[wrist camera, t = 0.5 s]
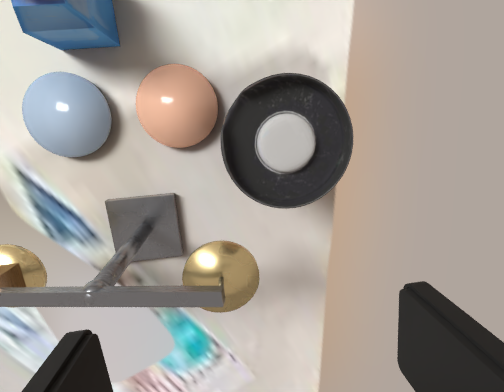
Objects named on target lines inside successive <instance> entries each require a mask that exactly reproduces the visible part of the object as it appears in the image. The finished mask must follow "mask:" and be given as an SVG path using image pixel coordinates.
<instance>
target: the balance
mask: <svg viewBox="0 0 504 392" xmlns="http://www.w3.org/2000/svg"><path fill="white" fill-rule="evenodd" d="M105 204H106V209H107V214H108V218H109V223H110V228H111V233H112V237H113V242H114V247H115V251H116V254H115V255H114V256H113V257H112V259H111V260H110V261H109V262H108V263H107V264H106V266H105V267H104V268H103V269H102V270H101V271H100V273H99V274H98V275H97V276H96V278H95V279H94V280H92V281H90V282H88V283H87V284H86V285H85V286H84V287H45V286H46V283H47V273H46V270H45V267H44V265H43V263H42V262H41V260H40V259H39V258H38V257H37V256H36V255H35V254H33V253H32V252H31V251H29V250H27V249H25V248H23V247H20V246H16V245H9V244H5V245H0V307H200V308H202V309H205V310H207V311H211V312H229V311H233V310H235V309H238V308H240V307H242V306H243V305H245V304H246V303H247V302H248V301H249V300H250V299H251V298H252V297H253V295H254V294H255V292H256V290H257V288H258V284H259V270H258V266H257V263H256V260H255V258H254V257H253V255H252V254H251V253H250V252H249V251H248V250H247V249H246V248H244V247H243V246H241V245H239V244H237V243H234V242H230V241H214V242H210V243H207V244H204V245H202V246H201V247H199V248H198V249H196V250H195V251H194V252H193V253H192V254H191V255H190V257H189V258H188V260H187V262H186V264H185V267H184V271H183V277H182V280H183V286H114V285H115V284H116V282H117V281H118V279H119V278H120V277H121V275H122V274H123V272H124V271H125V269H126V268H127V266H128V265H129V264H130V262H131V261H139V260H147V259H156V258H165V257H174V256H182V255H183V247H182V240H181V234H180V227H179V221H178V214H177V207H176V201H175V194H174V193H168V194H158V195H148V196H138V197H128V198H118V199H108V200H107V201H105Z"/></svg>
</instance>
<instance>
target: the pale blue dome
mask: <svg viewBox="0 0 504 392" xmlns="http://www.w3.org/2000/svg"><path fill="white" fill-rule="evenodd" d="M22 112H23V118H24V122H25V125H26V127H27V129H28V131H29V133H30V134H31V136H32V137H33V138H34V139H35V141H36V142H37V143H38V144H40V145H41V146H42V147H43V148H45V149H46V150H48V151H50V152H52V153H54V154H57V155H60V156H64V157H80V156H85V155H88V154H91V153H93V152H95V151H96V150H98V149H99V148H100V147H101V146H102V145H103V144H104V143H105V141H106V140H107V138H108V136H109V133H110V130H111V124H112V118H111V111H110V108H109V105H108V102H107V101H106V99H105V97H104V95H103V94H102V93H101V91H100V90H99V89H98V88H97V87H96V86H95V85H94V84H92V83H91V82H89V81H88V80H86V79H84V78H83V77H80V76H78V75H75V74H71V73H66V72H53V73H49V74H45V75H43V76H41V77H39V78H38V79H36V80H35V81H34V82H33V83H32V84H31V85H30V86H29V88H28V89H27V91H26V93H25V96H24V99H23V105H22Z"/></svg>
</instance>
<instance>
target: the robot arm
mask: <svg viewBox="0 0 504 392" xmlns="http://www.w3.org/2000/svg"><path fill="white" fill-rule="evenodd" d="M398 364H399V368H400V370H401V372H402V373H403V375H404V376H405V378H406V379H407V380H408V382H409V383H410V385H411V386H412V387H413V388H414V390H415V392H504V343H503V342H502V341H501V340H499V339H498V338H497V337H496V336H495V335H493V334H492V333H491V332H489V331H488V330H487V329H486V328H484V327H483V326H482V325H481V324H479V323H478V322H477V321H475V320H474V319H473V318H472V317H470V316H469V315H468V314H466V313H465V312H464V311H463V310H461V309H460V308H459V307H458V306H456V305H455V304H454V303H453V302H451V301H450V300H449V299H447V298H446V297H445V296H444V295H442V294H441V293H440V292H438V291H437V290H436V289H435V288H433V287H432V286H431V285H430V284H428V283H427V282H416V283H409V284H405V286H404V289H402V290H400V293H399V323H398ZM22 392H113V389H112V385H111V382H110V378H109V374H108V371H107V367H106V363H105V360H104V356H103V352H102V349H101V345H100V341H99V338H98V336H97V335H96V334H92V332H91V331H90V330H82V331H75V332H69V333H66V334H65V335H64V337H63V338H62V339H61V341H60V342H59V343H58V345H57V346H56V347H55V348H54V350H53V351H52V352H51V354H50V355H49V356H48V358H47V359H46V360H45V362H44V363H43V364H42V366H41V367H40V368H39V369H38V371H37V372H36V373H35V375H34V376H33V377H32V379H31V380H30V381H29V383H28V384H27V385H26V387H25V388H24V389H23V391H22Z"/></svg>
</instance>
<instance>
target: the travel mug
mask: <svg viewBox="0 0 504 392" xmlns="http://www.w3.org/2000/svg"><path fill="white" fill-rule="evenodd" d="M352 147H353V129H352V124H351V120H350V117H349V114H348V111H347V109H346V107H345V105H344V104H343V102H342V100H341V99H340V98H339V96H338V95H337V94H336V93H335V92H334V91H333V90H332V89H331V88H330V87H328V86H327V85H326V84H324V83H323V82H321V81H319V80H317V79H315V78H313V77H310V76H307V75H303V74H296V73H282V74H276V75H271V76H269V77H266V78H263V79H261V80H259V81H257V82H255V83H253V84H251V85H249V86H248V87H247V88H245V89H244V90H243V91H242V92H241V93H240V94H239V96H238V97H237V99H236V100H235V102H234V103H233V105H232V106H231V108H230V109H229V111H228V113H227V115H226V118H225V120H224V123H223V126H222V129H221V151H222V156H223V161H224V164H225V167H226V169H227V171H228V173H229V175H230V177H231V179H232V180H233V182H234V183H235V184H236V186H237V187H238V188H239V189H240V190H241V191H242V192H243V193H244V194H246V195H247V196H248V197H250V198H251V199H253V200H255V201H256V202H259V203H261V204H263V205H266V206H270V207H275V208H296V207H301V206H304V205H307V204H310V203H312V202H314V201H316V200H318V199H320V198H321V197H323V196H324V195H326V194H327V193H328V192H329V191H330V190H331V189H332V188H333V187H334V186H335V185H336V184H337V183H338V181H339V180H340V179H341V177H342V176H343V174H344V172H345V170H346V168H347V166H348V164H349V161H350V157H351V153H352Z"/></svg>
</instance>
